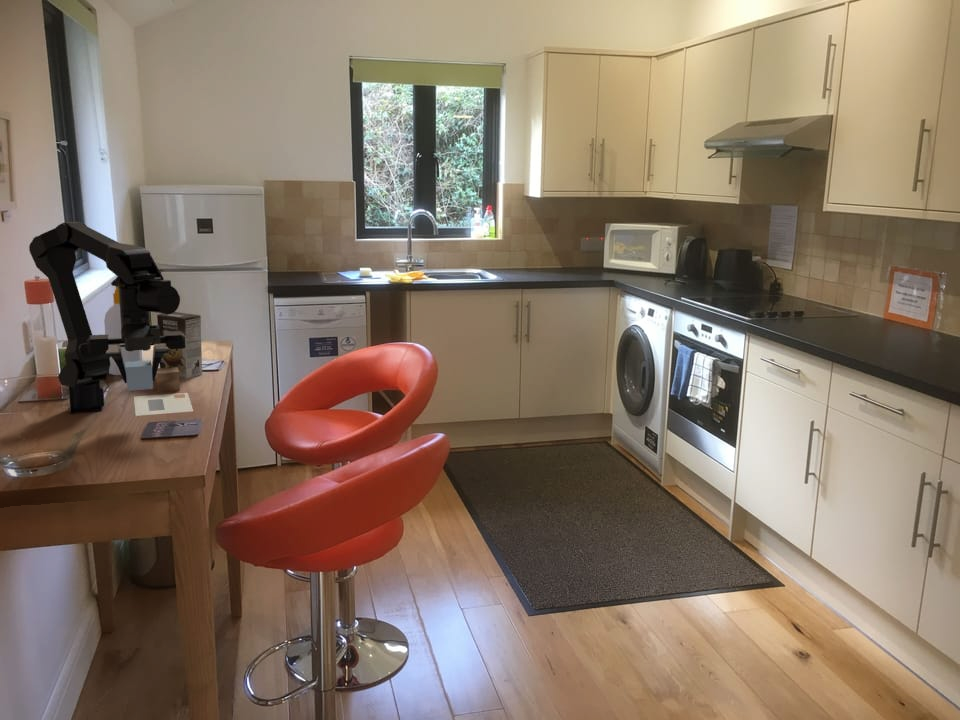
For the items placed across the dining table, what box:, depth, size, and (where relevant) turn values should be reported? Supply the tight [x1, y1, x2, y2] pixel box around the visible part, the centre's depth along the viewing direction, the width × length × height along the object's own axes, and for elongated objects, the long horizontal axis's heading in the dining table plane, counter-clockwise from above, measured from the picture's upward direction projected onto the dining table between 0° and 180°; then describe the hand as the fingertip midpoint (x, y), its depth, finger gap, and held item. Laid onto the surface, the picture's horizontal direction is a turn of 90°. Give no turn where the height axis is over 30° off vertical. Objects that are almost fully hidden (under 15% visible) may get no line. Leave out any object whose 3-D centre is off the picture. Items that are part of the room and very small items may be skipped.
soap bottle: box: [103, 286, 143, 377], centre depth 214 cm, size 9×9×24 cm
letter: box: [133, 392, 194, 417], centre depth 189 cm, size 12×16×1 cm
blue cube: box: [125, 360, 154, 392], centre depth 173 cm, size 5×5×5 cm
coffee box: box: [156, 311, 203, 379], centre depth 213 cm, size 9×6×16 cm
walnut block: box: [155, 367, 181, 393], centre depth 201 cm, size 5×5×5 cm
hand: (139, 381), depth 173 cm, fingers closed on blue cube, 5 cm apart
